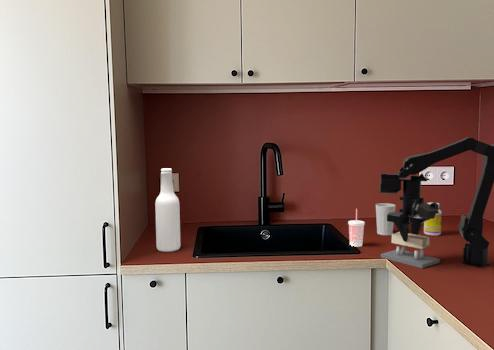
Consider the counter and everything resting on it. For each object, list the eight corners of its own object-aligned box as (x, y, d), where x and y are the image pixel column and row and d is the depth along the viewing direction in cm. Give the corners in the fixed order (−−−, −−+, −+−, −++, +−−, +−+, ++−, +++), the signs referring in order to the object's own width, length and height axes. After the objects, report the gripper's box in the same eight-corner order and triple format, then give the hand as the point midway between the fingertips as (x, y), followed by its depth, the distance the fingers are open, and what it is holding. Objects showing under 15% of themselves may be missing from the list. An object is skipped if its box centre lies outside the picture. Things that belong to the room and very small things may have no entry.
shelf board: (399, 240, 170) (399, 231, 170) (429, 245, 162) (429, 237, 162) (391, 242, 167) (391, 234, 166) (421, 248, 159) (422, 239, 158)
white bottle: (154, 252, 177) (151, 170, 174) (159, 245, 186) (156, 167, 182) (178, 252, 177) (176, 169, 174) (182, 245, 186) (180, 167, 182)
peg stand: (439, 262, 162) (439, 250, 161) (421, 268, 156) (422, 255, 155) (398, 252, 174) (398, 240, 174) (380, 257, 168) (381, 245, 168)
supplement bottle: (442, 236, 197) (443, 205, 196) (425, 235, 198) (426, 204, 197) (439, 232, 204) (440, 202, 202) (422, 231, 205) (423, 201, 203)
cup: (371, 232, 205) (371, 204, 204) (386, 230, 208) (387, 202, 207) (382, 236, 198) (383, 207, 196) (398, 234, 201) (399, 205, 199)
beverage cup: (367, 245, 184) (368, 209, 182) (355, 248, 180) (356, 210, 179) (356, 242, 189) (356, 206, 187) (344, 244, 186) (344, 208, 184)
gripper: (416, 200, 150) (414, 249, 152) (449, 194, 162) (447, 240, 163) (386, 195, 159) (385, 242, 161) (419, 190, 170) (418, 234, 172)
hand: (410, 240), depth 164 cm, fingers closed on shelf board, 5 cm apart
